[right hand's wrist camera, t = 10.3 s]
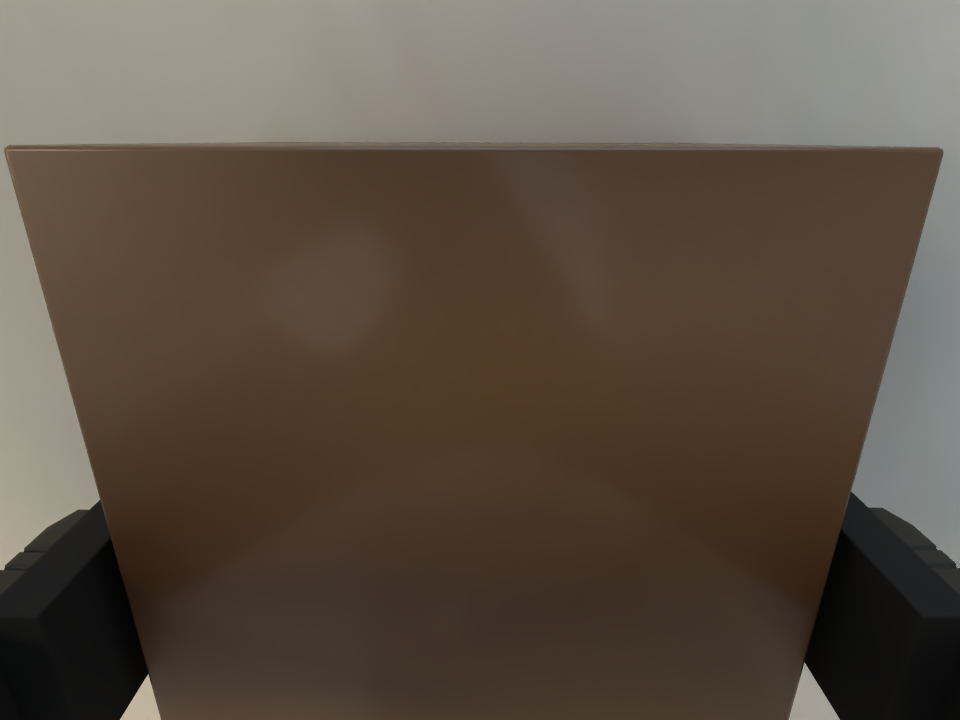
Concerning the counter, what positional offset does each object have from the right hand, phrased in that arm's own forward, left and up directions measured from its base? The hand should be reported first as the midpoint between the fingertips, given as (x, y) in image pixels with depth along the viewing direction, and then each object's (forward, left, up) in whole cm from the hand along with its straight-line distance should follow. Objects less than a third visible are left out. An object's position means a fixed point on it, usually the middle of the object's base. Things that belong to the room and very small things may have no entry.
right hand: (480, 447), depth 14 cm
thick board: (+8, -25, -2) cm, 27 cm away
